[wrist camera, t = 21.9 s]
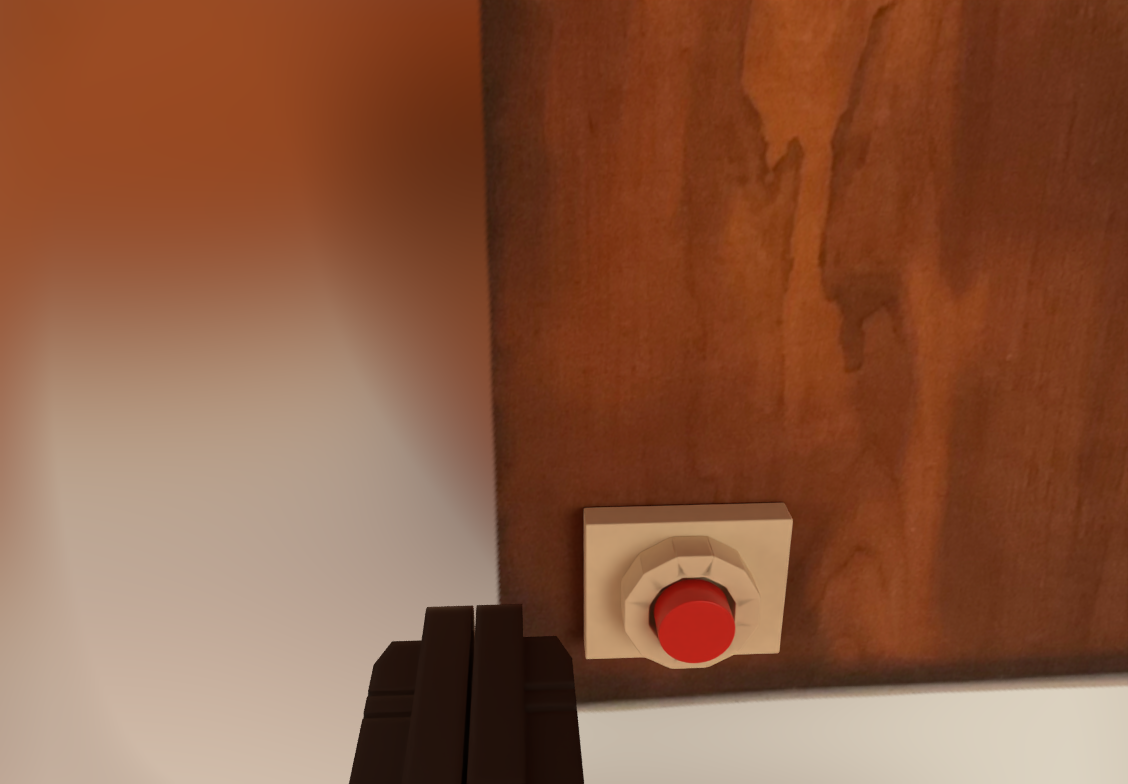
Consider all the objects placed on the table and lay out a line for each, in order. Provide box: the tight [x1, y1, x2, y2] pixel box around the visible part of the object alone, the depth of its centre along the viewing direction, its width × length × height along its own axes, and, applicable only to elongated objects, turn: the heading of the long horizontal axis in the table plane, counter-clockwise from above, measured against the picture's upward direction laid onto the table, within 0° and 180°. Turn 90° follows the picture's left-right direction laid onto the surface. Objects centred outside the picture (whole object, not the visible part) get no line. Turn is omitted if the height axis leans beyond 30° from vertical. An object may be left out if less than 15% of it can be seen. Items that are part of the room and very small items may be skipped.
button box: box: [584, 503, 793, 669], centre depth 44 cm, size 10×8×4 cm
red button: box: [654, 579, 735, 663], centre depth 42 cm, size 4×4×2 cm
